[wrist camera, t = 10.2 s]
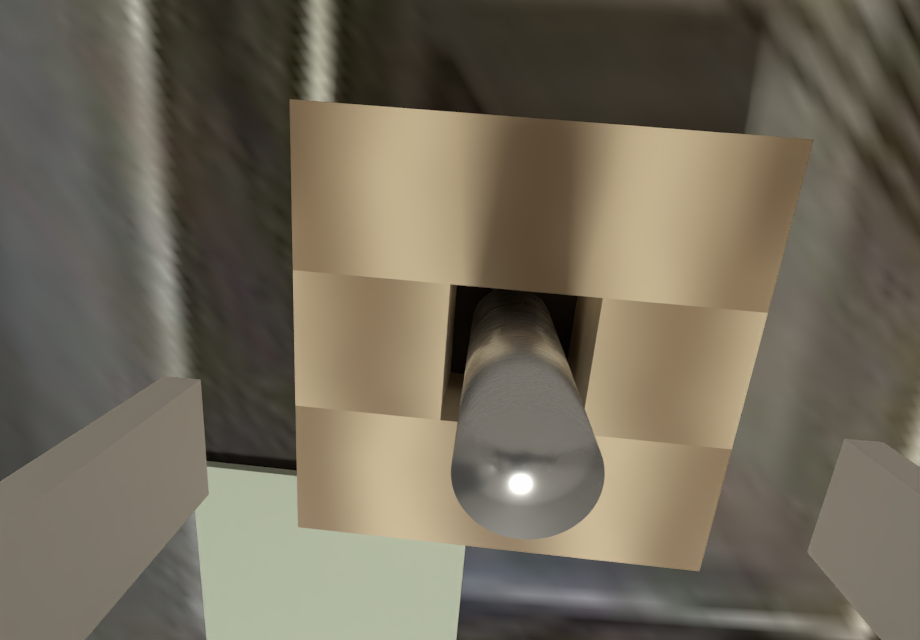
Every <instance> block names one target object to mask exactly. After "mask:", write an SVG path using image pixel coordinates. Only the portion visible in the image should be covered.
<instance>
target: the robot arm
mask: <svg viewBox="0 0 920 640" xmlns="http://www.w3.org/2000/svg"><path fill="white" fill-rule="evenodd" d="M208 495H209V491H208V477H207V463H206V449H205V435H204V421H203V407H202V393H201V380H199V379H188V378H177V377H166V376H164V377H162V378H161V379H159V380H158V381H156V382H154V383H153V384H151V385H150V386H148V387H147V388H145V389H143V390H142V391H140V392H139V393H137V394H136V395H134V396H133V397H131V398H129V399H128V400H126V401H125V402H123V403H122V404H120V405H119V406H117V407H115V408H114V409H112V410H111V411H109V412H108V413H106V414H105V415H103V416H101V417H100V418H98V419H97V420H95V421H94V422H92V423H91V424H89V425H87V426H86V427H84V428H83V429H81V430H80V431H78V432H76V433H75V434H73V435H72V436H70V437H69V438H67V439H66V440H64V441H62V442H61V443H59V444H58V445H56V446H55V447H53V448H52V449H50V450H48V451H47V452H45V453H44V454H42V455H41V456H39V457H38V458H36V459H34V460H33V461H31V462H30V463H28V464H27V465H25V466H24V467H22V468H20V469H19V470H17V471H16V472H14V473H13V474H11V475H9V476H8V477H6V478H5V479H3V480H2V481H0V640H85V639H86V638H87V637H88V635H89V634H90V633H91V632H92V631H93V630H94V628H95V627H96V626H97V625H98V624H99V623H100V621H101V620H102V619H103V618H104V617H105V615H106V614H107V613H108V612H109V611H110V610H111V608H112V607H113V606H114V605H115V604H116V603H117V601H118V600H119V599H120V598H121V597H122V596H123V594H124V593H125V592H126V591H127V590H128V589H129V587H130V586H131V585H132V584H133V583H134V581H135V580H136V579H137V578H138V577H139V576H140V574H141V573H142V572H143V571H144V570H145V569H146V567H147V566H148V565H149V564H150V563H151V562H152V560H153V559H154V558H155V557H156V556H157V554H158V553H159V552H160V551H161V550H162V549H163V547H164V546H165V545H166V544H167V543H168V542H169V540H170V539H171V538H172V537H173V536H174V535H175V533H176V532H177V531H178V530H179V529H180V528H181V526H182V525H183V524H184V523H185V522H186V520H187V519H188V518H189V517H190V516H191V515H192V513H193V512H194V511H195V510H196V509H197V508H198V506H199V505H200V504H201V503H202V502H203V501H204V499H205V498H206V497H207V496H208ZM807 553H808V554H809V555H810V556H811V557H812V559H813V560H814V561H815V562H816V563H817V564H818V566H819V567H820V568H821V569H822V570H823V572H824V573H825V574H826V575H827V576H828V578H829V579H830V580H831V581H832V582H833V583H834V585H835V586H836V587H837V588H838V589H839V591H840V592H841V593H842V594H843V595H844V596H845V598H846V599H847V600H848V601H849V602H850V604H851V605H852V606H853V607H854V608H855V610H856V611H857V612H858V613H859V614H860V615H861V617H862V618H863V619H864V620H865V621H866V623H867V624H868V625H869V626H870V627H871V628H872V630H873V631H874V632H875V633H876V634H877V636H878V637H879V638H880V639H881V640H920V467H919V466H917V465H916V464H914V463H913V462H911V461H910V460H908V459H907V458H905V457H904V456H903V455H901V454H900V453H898V452H897V451H895V450H894V449H892V448H891V447H889V446H888V445H886V444H885V443H883V442H875V441H864V440H853V439H844V441H843V444H842V447H841V450H840V453H839V457H838V460H837V463H836V466H835V469H834V472H833V475H832V478H831V481H830V484H829V487H828V490H827V493H826V496H825V499H824V502H823V505H822V509H821V512H820V515H819V518H818V521H817V524H816V527H815V530H814V533H813V536H812V539H811V542H810V545H809V548H808V551H807Z"/></svg>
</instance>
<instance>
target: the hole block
mask: <svg viewBox="0 0 920 640" xmlns="http://www.w3.org/2000/svg"><path fill="white" fill-rule="evenodd" d="M813 141H814V140H812V139H799V138H786V137H773V136H760V135H747V134H734V133H721V132H708V131H695V130H682V129H669V128H656V127H643V126H630V125H617V124H605V123H591V122H579V121H566V120H553V119H540V118H527V117H514V116H501V115H488V114H475V113H462V112H449V111H436V110H423V109H410V108H397V107H384V106H371V105H358V104H345V103H332V102H319V101H306V100H293V99H290V143H291V195H292V247H293V299H294V351H295V403H296V455H297V507H298V527H301V528H310V529H319V530H328V531H337V532H346V533H355V534H364V535H374V536H383V537H392V538H401V539H410V540H419V541H428V542H437V543H446V544H456V545H465V546H474V547H483V548H492V549H501V550H510V551H519V552H528V553H538V554H547V555H556V556H565V557H574V558H583V559H592V560H601V561H610V562H620V563H629V564H638V565H647V566H656V567H665V568H674V569H683V570H692V571H700V567H701V564H702V560H703V556H704V552H705V548H706V545H707V541H708V537H709V533H710V530H711V526H712V522H713V518H714V514H715V511H716V507H717V503H718V499H719V496H720V492H721V488H722V484H723V481H724V477H725V473H726V469H727V465H728V462H729V458H730V454H731V450H732V447H733V443H734V439H735V435H736V431H737V428H738V424H739V420H740V416H741V413H742V409H743V405H744V401H745V397H746V394H747V390H748V386H749V382H750V379H751V375H752V371H753V367H754V364H755V360H756V356H757V352H758V348H759V345H760V341H761V337H762V333H763V330H764V326H765V322H766V318H767V314H768V311H769V307H770V303H771V299H772V296H773V292H774V288H775V284H776V280H777V277H778V273H779V269H780V265H781V262H782V258H783V254H784V250H785V247H786V243H787V239H788V235H789V231H790V228H791V224H792V220H793V216H794V213H795V209H796V205H797V201H798V197H799V194H800V190H801V186H802V182H803V179H804V175H805V171H806V167H807V164H808V160H809V156H810V152H811V148H812V145H813ZM457 285H464V286H475V287H486V288H497V289H508V290H519V291H530V292H541V293H552V294H564V295H575V296H577V300H576V307H575V314H574V320H573V327H572V334H571V340H570V347H569V354H568V360H567V362H568V365H569V368H570V370H571V373H572V376H573V379H574V381H575V384H576V387H577V389H578V392H579V395H580V398H581V400H582V403H583V406H584V408H585V411H586V414H587V417H588V419H589V422H590V425H591V427H592V430H593V433H594V436H595V438H596V441H597V444H598V446H599V449H600V452H601V455H602V457H603V462H604V469H605V478H604V485H603V489H602V493H601V495H600V497H599V500H598V501H597V503H596V505H595V506H594V508H593V509H592V510H591V512H590V513H589V514H588V515H587V516H586V517H585V518H584V519H583V520H582V521H581V522H579V523H578V524H577V525H575V526H574V527H572V528H570V529H569V530H567V531H565V532H562V533H560V534H558V535H554V536H551V537H547V538H541V539H530V540H526V539H515V538H509V537H505V536H502V535H499V534H496V533H494V532H491V531H489V530H488V529H486V528H484V527H482V526H481V525H479V524H478V523H477V522H475V521H474V520H473V519H472V518H471V517H470V516H469V515H468V514H467V513H466V512H465V511H464V509H463V508H462V506H461V505H460V503H459V502H458V500H457V498H456V495H455V493H454V490H453V486H452V481H451V464H452V457H453V450H454V443H455V436H456V429H457V423H458V416H459V409H460V402H461V395H462V388H463V381H464V373H453V372H451V359H452V346H453V333H454V320H455V307H456V294H457Z"/></svg>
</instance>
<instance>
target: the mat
mask: <svg viewBox="0 0 920 640" xmlns="http://www.w3.org/2000/svg"><path fill="white" fill-rule="evenodd" d="M206 463H207V477H208V491H209V495H208V496H207V497H206V498H205V499H204V501H203V502H202V503H201V504H200V505H199V506H198V508H197V509H196V510H195V514H196V525H197V537H198V548H199V559H200V570H201V582H202V593H203V604H204V615H205V627H206V638H207V640H456V637H457V627H458V617H459V607H460V596H461V586H462V576H463V565H464V555H465V545H456V544H446V543H437V542H428V541H419V540H410V539H401V538H392V537H383V536H374V535H364V534H355V533H346V532H337V531H328V530H319V529H310V528H301V527H298V507H297V470H288V469H279V468H269V467H260V466H251V465H241V464H232V463H222V462H213V461H206Z"/></svg>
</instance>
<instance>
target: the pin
mask: <svg viewBox="0 0 920 640" xmlns="http://www.w3.org/2000/svg"><path fill="white" fill-rule="evenodd" d="M604 478H605V469H604V462H603V457H602V455H601V452H600V449H599V446H598V444H597V441H596V438H595V436H594V433H593V430H592V427H591V425H590V422H589V419H588V417H587V414H586V411H585V408H584V406H583V403H582V400H581V398H580V395H579V392H578V389H577V387H576V384H575V381H574V379H573V376H572V373H571V370H570V368H569V365H568V362H567V360H566V357H565V354H564V351H563V349H562V346H561V343H560V341H559V338H558V335H557V332H556V330H555V327H554V324H553V322H552V319H551V316H550V313H549V311H548V308H547V306H546V304H545V303H544V302H543V300H542V299H541V298H540V297H539V296H538V295H537V294H535V293H534V292H530V291H519V290H508V289H495V290H493V291H491V292H490V293H488V294H487V295H486V296H484V297H483V298H482V299H481V301H480V302H479V303H478V305H477V306H476V309H475V311H474V314H473V319H472V326H471V333H470V340H469V346H468V353H467V360H466V367H465V374H464V381H463V388H462V395H461V402H460V409H459V416H458V423H457V429H456V436H455V443H454V450H453V457H452V464H451V481H452V486H453V490H454V493H455V495H456V498H457V500H458V502H459V503H460V505H461V506H462V508H463V509H464V511H465V512H466V513H467V514H468V515H469V516H470V517H471V518H472V519H473V520H474V521H475V522H477V523H478V524H479V525H481V526H482V527H484V528H486V529H488V530H489V531H491V532H494V533H496V534H499V535H502V536H505V537H509V538H515V539H526V540H530V539H541V538H547V537H551V536H554V535H558V534H560V533H562V532H565V531H567V530H569V529H570V528H572V527H574V526H575V525H577V524H578V523H579V522H581V521H582V520H583V519H584V518H585V517H586V516H587V515H588V514H589V513H590V512H591V510H592V509H593V508H594V506H595V505H596V503H597V501H598V500H599V497H600V495H601V493H602V489H603V485H604Z"/></svg>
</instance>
